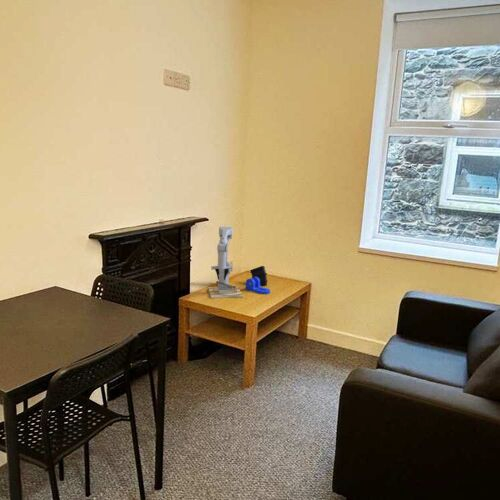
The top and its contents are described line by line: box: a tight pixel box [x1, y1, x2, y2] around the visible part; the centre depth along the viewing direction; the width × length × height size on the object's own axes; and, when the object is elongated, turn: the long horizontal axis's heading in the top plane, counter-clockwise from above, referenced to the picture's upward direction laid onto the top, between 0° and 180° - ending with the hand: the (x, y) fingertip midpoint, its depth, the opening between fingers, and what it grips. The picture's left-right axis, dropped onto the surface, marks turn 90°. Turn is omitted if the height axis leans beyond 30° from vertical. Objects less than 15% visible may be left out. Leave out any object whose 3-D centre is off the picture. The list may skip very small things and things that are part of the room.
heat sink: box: [217, 285, 233, 294], centre depth 314 cm, size 10×10×3 cm
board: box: [208, 286, 244, 299], centre depth 314 cm, size 20×22×1 cm
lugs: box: [212, 285, 237, 293], centre depth 314 cm, size 6×17×4 cm, turn 101°
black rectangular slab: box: [249, 265, 269, 287], centre depth 337 cm, size 4×13×15 cm, turn 66°
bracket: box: [245, 277, 271, 295], centre depth 322 cm, size 18×8×9 cm, turn 54°
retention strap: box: [215, 280, 237, 288], centre depth 313 cm, size 4×15×2 cm, turn 100°
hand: (221, 279), depth 312 cm, fingers open, 4 cm apart
